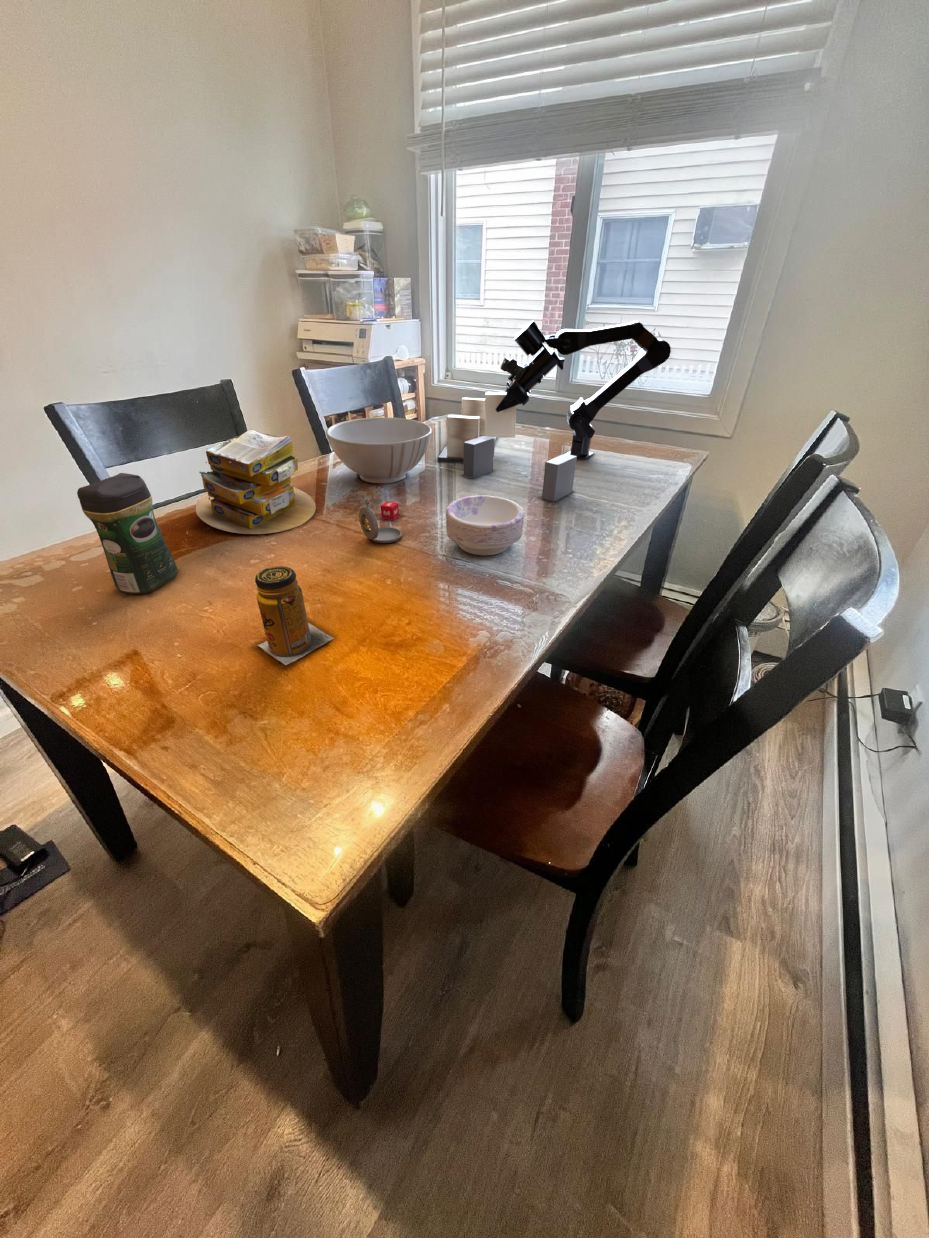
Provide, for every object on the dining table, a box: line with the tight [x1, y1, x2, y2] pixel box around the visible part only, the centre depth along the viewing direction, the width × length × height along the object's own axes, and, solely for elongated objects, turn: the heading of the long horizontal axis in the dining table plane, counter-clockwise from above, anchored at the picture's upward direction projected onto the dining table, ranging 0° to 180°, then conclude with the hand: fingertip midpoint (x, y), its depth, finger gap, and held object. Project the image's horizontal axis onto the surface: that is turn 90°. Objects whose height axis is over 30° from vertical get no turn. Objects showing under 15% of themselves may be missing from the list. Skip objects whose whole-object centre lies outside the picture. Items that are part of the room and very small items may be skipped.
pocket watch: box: [358, 494, 402, 544], centre depth 104 cm, size 8×8×10 cm
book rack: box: [437, 397, 498, 464], centre depth 158 cm, size 14×30×12 cm, turn 171°
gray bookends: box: [462, 436, 578, 502], centre depth 133 cm, size 9×28×9 cm, turn 51°
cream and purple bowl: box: [445, 494, 525, 557], centre depth 102 cm, size 15×15×8 cm
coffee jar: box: [76, 472, 179, 595], centre depth 85 cm, size 10×8×19 cm
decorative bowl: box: [325, 416, 433, 484], centre depth 136 cm, size 27×27×12 cm
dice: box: [379, 500, 400, 521], centre depth 115 cm, size 3×3×3 cm
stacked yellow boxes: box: [195, 429, 317, 535], centre depth 112 cm, size 25×25×17 cm
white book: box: [484, 391, 517, 439], centre depth 152 cm, size 9×4×12 cm, turn 84°
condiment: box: [254, 565, 335, 666], centre depth 73 cm, size 7×8×12 cm
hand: (496, 409), depth 151 cm, fingers closed on white book, 4 cm apart
